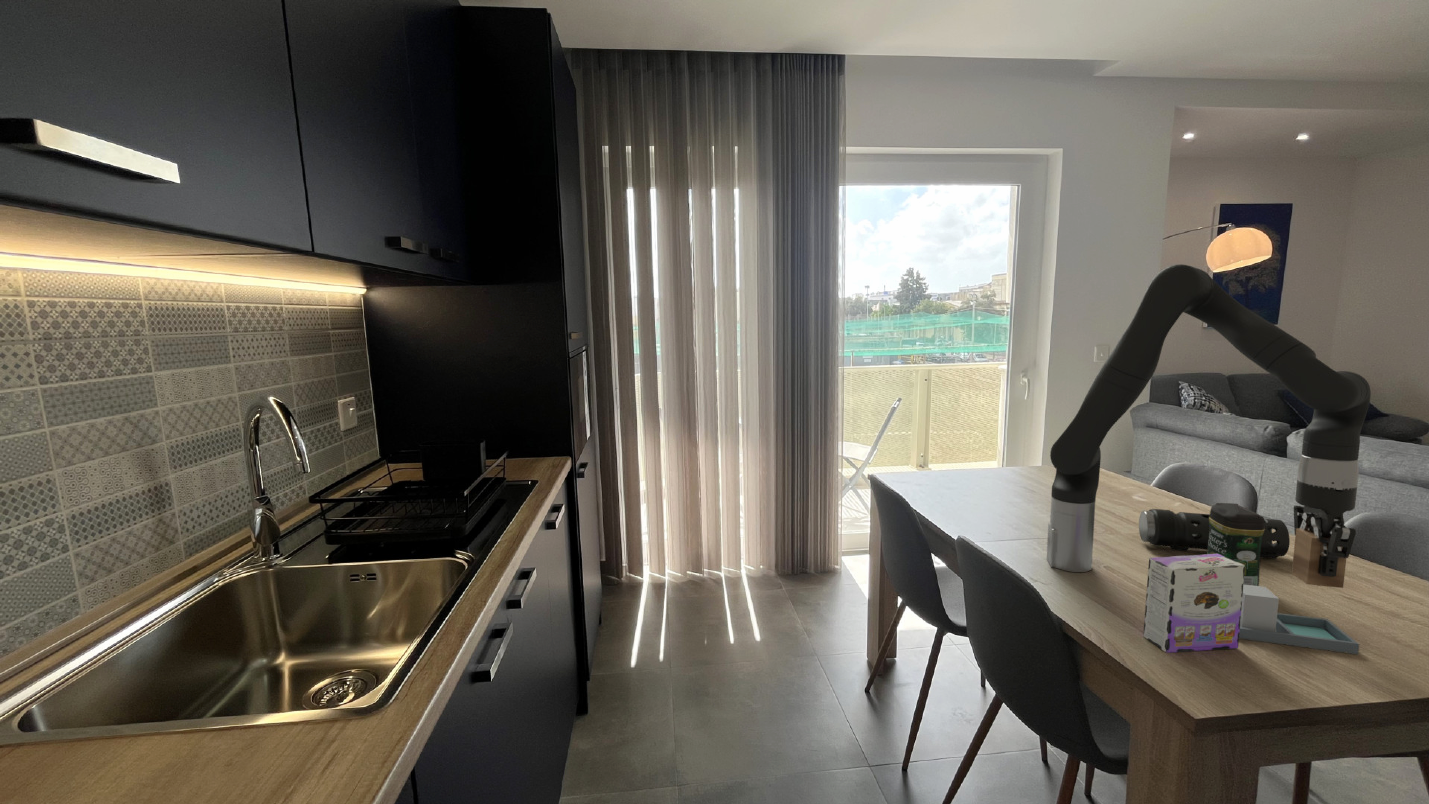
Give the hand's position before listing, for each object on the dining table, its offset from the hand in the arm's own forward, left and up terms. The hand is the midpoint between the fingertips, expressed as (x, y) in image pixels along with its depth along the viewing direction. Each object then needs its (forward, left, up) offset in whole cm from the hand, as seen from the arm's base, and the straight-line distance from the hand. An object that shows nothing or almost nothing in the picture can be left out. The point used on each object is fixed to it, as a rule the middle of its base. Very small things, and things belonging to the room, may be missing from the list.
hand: (1317, 569), depth 106 cm
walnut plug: (0, 0, -2) cm, 2 cm away
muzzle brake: (-1, +42, -14) cm, 44 cm away
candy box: (-22, -9, -14) cm, 27 cm away
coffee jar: (-4, +21, -14) cm, 25 cm away
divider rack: (-4, 0, -14) cm, 14 cm away
